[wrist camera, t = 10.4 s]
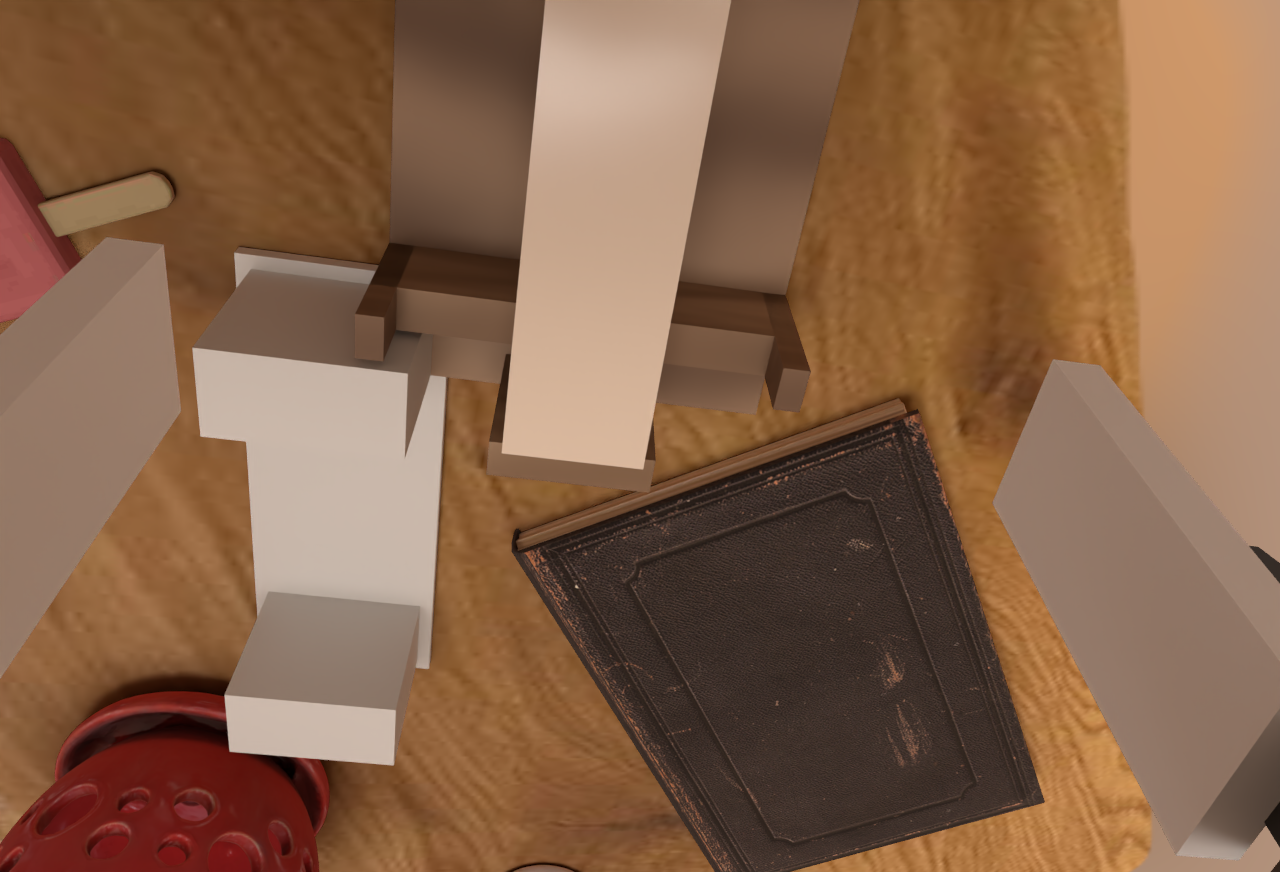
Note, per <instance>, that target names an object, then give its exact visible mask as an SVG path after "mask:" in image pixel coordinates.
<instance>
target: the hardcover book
mask: <svg viewBox="0 0 1280 872" xmlns="http://www.w3.org/2000/svg"><path fill="white" fill-rule="evenodd" d="M512 553H513V554H514V556H515V557H516V559H517V561H518V562H519V564H520V565H521V567H522V568H523V570H524V572H525V573H526V575H527V576H528V578H529V579H530V581H531V583H532V584H533V586H534V587H535V589H536V590H537V592H538V594H539V595H540V597H541V598H542V600H543V602H544V603H545V605H546V606H547V608H548V609H549V611H550V613H551V614H552V616H553V617H554V619H555V620H556V622H557V624H558V625H559V627H560V628H561V630H562V631H563V633H564V635H565V636H566V638H567V639H568V641H569V642H570V644H571V646H572V647H573V649H574V650H575V652H576V653H577V655H578V657H579V658H580V660H581V661H582V663H583V665H584V666H585V668H586V669H587V671H588V672H589V674H590V676H591V677H592V679H593V680H594V682H595V683H596V685H597V687H598V688H599V690H600V691H601V693H602V694H603V696H604V698H605V699H606V701H607V702H608V704H609V705H610V707H611V709H612V710H613V712H614V713H615V715H616V717H617V718H618V720H619V721H620V723H621V724H622V726H623V728H624V729H625V731H626V732H627V734H628V735H629V737H630V739H631V740H632V742H633V743H634V745H635V746H636V748H637V750H638V751H639V753H640V754H641V756H642V757H643V759H644V761H645V762H646V764H647V765H648V767H649V768H650V770H651V772H652V773H653V775H654V776H655V778H656V780H657V781H658V783H659V784H660V786H661V787H662V789H663V791H664V792H665V794H666V795H667V797H668V798H669V800H670V802H671V803H672V805H673V806H674V808H675V809H676V811H677V813H678V814H679V816H680V817H681V819H682V820H683V822H684V824H685V825H686V827H687V828H688V830H689V832H690V833H691V835H692V836H693V838H694V839H695V841H696V843H697V844H698V846H699V847H700V849H701V850H702V852H703V854H704V855H705V857H706V858H707V860H708V861H709V863H710V865H711V866H712V868H713V869H714V871H715V872H791V871H794V870H798V869H802V868H805V867H809V866H813V865H817V864H820V863H824V862H828V861H831V860H835V859H839V858H842V857H846V856H850V855H853V854H857V853H861V852H864V851H868V850H872V849H875V848H879V847H883V846H886V845H890V844H894V843H897V842H901V841H905V840H909V839H912V838H916V837H920V836H923V835H927V834H931V833H934V832H938V831H942V830H945V829H949V828H953V827H956V826H960V825H964V824H967V823H971V822H975V821H978V820H982V819H986V818H989V817H993V816H997V815H1001V814H1004V813H1008V812H1012V811H1015V810H1019V809H1023V808H1026V807H1030V806H1034V805H1037V804H1041V803H1044V802H1045V801H1044V798H1043V795H1042V792H1041V789H1040V786H1039V783H1038V780H1037V777H1036V773H1035V770H1034V767H1033V764H1032V761H1031V758H1030V755H1029V752H1028V749H1027V745H1026V742H1025V739H1024V736H1023V733H1022V730H1021V727H1020V724H1019V721H1018V717H1017V714H1016V711H1015V708H1014V705H1013V702H1012V699H1011V696H1010V693H1009V689H1008V686H1007V683H1006V680H1005V677H1004V674H1003V671H1002V668H1001V665H1000V661H999V658H998V655H997V652H996V649H995V646H994V643H993V640H992V637H991V633H990V630H989V627H988V624H987V621H986V618H985V615H984V612H983V609H982V605H981V602H980V599H979V596H978V593H977V590H976V587H975V584H974V581H973V578H972V574H971V571H970V568H969V565H968V562H967V559H966V556H965V553H964V550H963V546H962V543H961V540H960V537H959V534H958V531H957V528H956V525H955V522H954V518H953V515H952V512H951V509H950V506H949V503H948V500H947V497H946V494H945V490H944V487H943V484H942V481H941V478H940V475H939V472H938V469H937V466H936V462H935V459H934V456H933V453H932V450H931V447H930V444H929V441H928V438H927V434H926V431H925V428H924V425H923V422H922V419H921V416H920V413H919V411H918V409H917V410H914V411H911V412H908V413H907V412H906V409H905V406H904V403H902V402H901V401H900V399H899V398H898V399H895V400H892V401H889V402H887V403H884V404H881V405H878V406H875V407H873V408H870V409H867V410H864V411H861V412H859V413H856V414H853V415H850V416H848V417H845V418H842V419H839V420H836V421H834V422H831V423H828V424H825V425H822V426H820V427H817V428H814V429H811V430H808V431H806V432H803V433H800V434H797V435H794V436H792V437H789V438H786V439H783V440H780V441H778V442H775V443H772V444H769V445H766V446H764V447H761V448H758V449H755V450H752V451H749V452H747V453H744V454H741V455H738V456H735V457H733V458H730V459H727V460H724V461H721V462H719V463H716V464H713V465H710V466H707V467H704V468H702V469H699V470H696V471H693V472H690V473H688V474H685V475H682V476H679V477H676V478H674V479H671V480H668V481H665V482H662V483H659V484H657V485H654V486H651V487H650V492H649V493H647V492H639V491H637V492H634V493H631V494H629V495H626V496H623V497H620V498H617V499H614V500H612V501H609V502H606V503H603V504H600V505H598V506H595V507H592V508H589V509H586V510H584V511H581V512H578V513H575V514H572V515H569V516H567V517H564V518H561V519H558V520H555V521H553V522H550V523H547V524H544V525H541V526H539V527H536V528H533V529H530V530H527V531H524V532H522V533H521V532H520V530H519V528H518V529H516V530H515V532H514V535H513V539H512Z"/></svg>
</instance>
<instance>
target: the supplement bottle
mask: <svg viewBox="0 0 1280 872" xmlns="http://www.w3.org/2000/svg"><path fill="white" fill-rule="evenodd" d="M513 872H574V871H571V870H569V869H566V868H563V867H559V866H553V865H534V866H528V867H524V868H521V869H518V870H515V871H513Z"/></svg>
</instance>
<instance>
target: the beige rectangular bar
mask: <svg viewBox="0 0 1280 872" xmlns="http://www.w3.org/2000/svg"><path fill="white" fill-rule="evenodd" d="M730 4H731V0H545V9H544V20H543V30H542V40H541V51H540V61H539V71H538V82H537V92H536V103H535V113H534V123H533V134H532V144H531V154H530V165H529V175H528V185H527V196H526V206H525V216H524V227H523V237H522V247H521V258H520V268H519V278H518V289H517V299H516V310H515V320H514V330H513V341H512V351H511V361H510V372H509V382H508V392H507V403H506V413H505V423H504V434H503V444H502V453H503V454H512V455H521V456H529V457H538V458H547V459H555V460H564V461H573V462H582V463H590V464H599V465H608V466H617V467H625V468H634V469H643V468H644V462H645V457H646V452H647V446H648V441H649V436H650V430H651V425H652V420H653V414H654V409H655V404H656V398H657V393H658V388H659V382H660V377H661V372H662V366H663V361H664V356H665V350H666V345H667V340H668V334H669V329H670V324H671V318H672V313H673V308H674V303H675V297H676V292H677V287H678V281H679V276H680V271H681V265H682V260H683V255H684V249H685V244H686V239H687V233H688V228H689V223H690V217H691V212H692V207H693V201H694V196H695V191H696V185H697V180H698V175H699V169H700V164H701V159H702V153H703V148H704V143H705V137H706V132H707V127H708V121H709V116H710V111H711V105H712V100H713V95H714V89H715V84H716V79H717V73H718V68H719V63H720V57H721V52H722V47H723V41H724V36H725V31H726V25H727V20H728V15H729V10H730Z"/></svg>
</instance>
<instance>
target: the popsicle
mask: <svg viewBox="0 0 1280 872" xmlns="http://www.w3.org/2000/svg"><path fill="white" fill-rule="evenodd" d="M174 197H175V196H174V191H173V188H172V186H171V184H170V182H169V181H168V180H167V179H166V177H165V176H164V175H162V174H159V173H156V172H153V171H151V172H147V173H144V174H140V175H137V176H133V177H130V178H126V179H122V180H119V181H115V182H112V183H108V184H104V185H101V186H97V187H94V188H90V189H87V190H83V191H79V192H76V193H72V194H69V195H65V196H62V197H58V198H54V199H51V200H47V201H46V200H45V198H44V196H43V195H42V193H41V191H40V190H39V188H38V186H37V185H36V183H35V181H34V180H33V178H32V176H31V175H30V173H29V171H28V170H27V168H26V166H25V165H24V163H23V161H22V160H21V158H20V156H19V155H18V153H17V151H16V150H15V148H14V146H13V145H12V144H11V143H10V142H9V141H8V140H7V139H4V138H0V323H1V322H5V321H9V320H13V319H17V318H19V317H20V316H21V315H22V314H23V313H25V312H26V311H27V310H28V309H29V308H30V307H31V306H32V305H33V304H34V303H35V302H36V301H38V300H39V299H40V298H41V297H42V296H43V295H44V294H45V293H46V292H47V291H48V290H50V289H51V288H52V287H53V286H54V285H55V284H56V283H57V282H58V281H59V280H60V279H62V278H63V277H64V276H65V275H66V274H67V273H68V272H69V271H70V270H71V269H72V268H73V267H75V266H76V265H77V264H78V263H79V262H80V261H81V258H80V256H79V255H78V253H77V251H76V250H75V248H74V246H73V245H72V243H71V241H70V240H69V238H68V236H67V234H71V233H75V232H78V231H82V230H86V229H89V228H93V227H97V226H100V225H104V224H108V223H111V222H115V221H119V220H122V219H126V218H130V217H133V216H137V215H140V214H144V213H148V212H151V211H155V210H159V209H162V208H166V207H168V206H169V205H170V204H171V202H172V200H173V199H174Z"/></svg>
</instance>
